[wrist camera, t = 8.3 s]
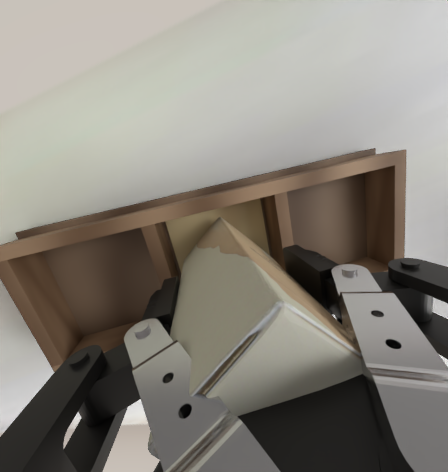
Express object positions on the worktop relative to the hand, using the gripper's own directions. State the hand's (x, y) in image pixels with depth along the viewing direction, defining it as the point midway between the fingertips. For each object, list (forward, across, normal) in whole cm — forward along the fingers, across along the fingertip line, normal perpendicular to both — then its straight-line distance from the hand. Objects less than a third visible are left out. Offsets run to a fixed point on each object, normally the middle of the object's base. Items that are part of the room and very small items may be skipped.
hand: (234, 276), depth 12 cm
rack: (+5, 0, 0) cm, 5 cm away
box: (+3, 0, 0) cm, 3 cm away
